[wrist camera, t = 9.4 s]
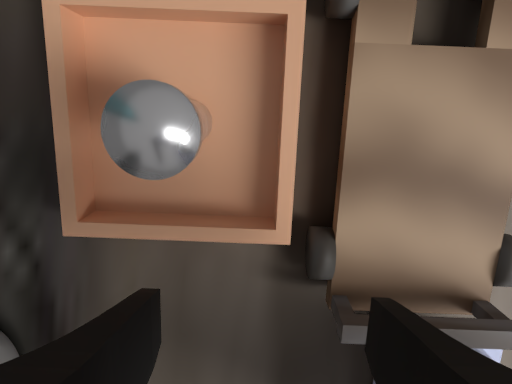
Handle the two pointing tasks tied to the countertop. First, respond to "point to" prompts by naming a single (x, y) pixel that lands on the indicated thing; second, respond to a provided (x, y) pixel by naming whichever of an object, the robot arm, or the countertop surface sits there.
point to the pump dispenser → (6, 349)
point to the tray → (196, 88)
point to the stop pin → (153, 129)
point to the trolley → (421, 175)
